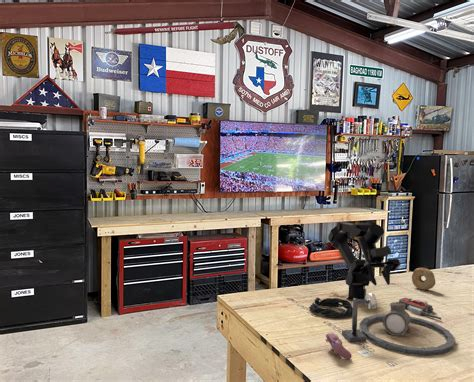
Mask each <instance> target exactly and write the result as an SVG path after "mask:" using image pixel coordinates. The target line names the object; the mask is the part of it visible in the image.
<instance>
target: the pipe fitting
mask: <svg viewBox="0 0 474 382" xmlns="http://www.w3.org/2000/svg"><path fill="white" fill-rule="evenodd" d="M389 303H390V304H389V305H390V311H389V312H387V313H385V314H386V315H385V317H384V319H383V320H382V322H383V328H384V329H385V331H386V332H387V333H388V334H390V335H392V336H397V337H400V336H403V335H404V334H405V333H406V332H407V331H408V329H409V325H410V323H411V322H410V321H411V318H410V313H408V312H407V310H406V309H405V304H404V303H399V301H394V302H393V301H392V302H389Z"/></svg>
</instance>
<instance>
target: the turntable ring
mask: <svg viewBox="0 0 474 382" xmlns="http://www.w3.org/2000/svg"><path fill="white" fill-rule="evenodd" d="M386 314H387V313H384V314H382V313H381V314H372V315H370V316H366V317H364V318H363V319H362V320H361V321H360V323H359V327H358V328H359V331H361V332H362V333H363V334H364V335H365V336H366V337H367V341H368V342H370V343H372V344H375V345H377V346H379V347H381V348H383V349H385V350H390V351H394V352H396V353H402V354H407V355H414V356H415V355H417V356H435V355H444V354H446V353H448V352H450V351H452V350H454V348H455V347H454V346H455V342H456V340H455V339H456V338H455V336H454V335H453V334H452V333H451V331H450V330H449V329H446V328H445V327H443V326H441V325H440V324H437V323H436V322H433V321H429V320H426V319H424V318H420V317H415V316H410V318H411V321H410V323H412V324H417V325H420V326H424V327H427V328H429V329H432V330H434V331H435V332H438V334H440V335H442V336H443V337H444V339H445V340H446V342H445V343H443V344H440V345H438V346H431V347H430V346H429V347H418V346H417V347H416V346H407V345H402V344H398V343H393V342H390V341H387V340H385V339H382V338H380V337H377V336H375V334H373V333H372V332H370V331H369V330H368V328H367V327H368V326H369V324H372V323H374V322H378V321H379V322H380V321H381V322H382V321H383V319H384V317H385V315H386Z"/></svg>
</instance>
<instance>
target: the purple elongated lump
mask: <svg viewBox="0 0 474 382" xmlns="http://www.w3.org/2000/svg"><path fill="white" fill-rule="evenodd" d="M325 342H326V343H329V345H330V346H331V348H332V350H333V353H334V355H336V356H337V357H338V356H340V357H341V358H343V359H346V360H351V359H352V353H351V352H350V351H349V350H347V348H345V347H344V345H343V341H342V340H341V339H340V337H339V336H338V335H337V334H335V333H334V332H328V333H327V334H325Z"/></svg>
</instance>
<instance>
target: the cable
mask: <svg viewBox="0 0 474 382" xmlns="http://www.w3.org/2000/svg"><path fill="white" fill-rule="evenodd" d="M323 307H325V308H323ZM342 307H343V308H344V309H346V310H345V311H337V310H335V309H332V308H342ZM308 309H309V311H310V312H311V313H314V314H316V315H323V317H326V318H334V317H335V318H336V319H337V318H347V317H348V318H349V317H351V316H352V314H353V304H352V303H351V302H350V300H348V299H342V298H338V297H334V298H333V297H332V298H330V297H329V298H324V299H321V298H319V297H316V298H315V299H314V301H313V302H312V303H311V304H310V306H308ZM335 318H334V319H335Z"/></svg>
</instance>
